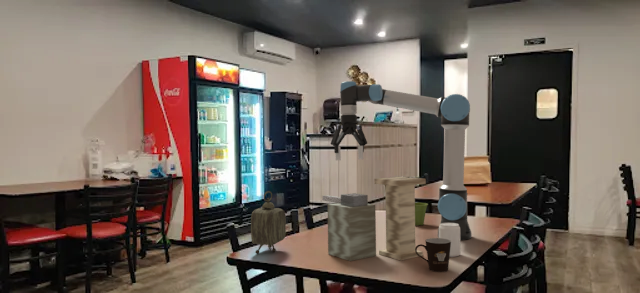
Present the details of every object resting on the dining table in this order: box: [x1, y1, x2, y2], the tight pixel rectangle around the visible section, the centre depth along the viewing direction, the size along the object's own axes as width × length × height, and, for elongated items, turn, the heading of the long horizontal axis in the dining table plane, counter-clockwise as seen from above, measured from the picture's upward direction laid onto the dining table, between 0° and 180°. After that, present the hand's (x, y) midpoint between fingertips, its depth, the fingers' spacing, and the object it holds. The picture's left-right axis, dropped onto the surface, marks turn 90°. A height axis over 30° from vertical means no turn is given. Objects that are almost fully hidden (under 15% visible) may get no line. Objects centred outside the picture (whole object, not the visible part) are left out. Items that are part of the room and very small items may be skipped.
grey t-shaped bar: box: [321, 192, 369, 207], centre depth 183 cm, size 24×7×4 cm, turn 35°
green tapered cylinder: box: [415, 202, 429, 227], centre depth 243 cm, size 12×12×11 cm
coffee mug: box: [415, 237, 451, 273], centre depth 157 cm, size 12×9×10 cm
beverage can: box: [438, 222, 462, 258], centre depth 176 cm, size 8×8×12 cm
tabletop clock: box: [250, 190, 287, 255], centre depth 186 cm, size 14×9×25 cm, turn 159°
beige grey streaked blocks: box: [327, 176, 427, 262], centre depth 178 cm, size 26×28×30 cm
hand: (349, 159), depth 212 cm, fingers open, 13 cm apart
